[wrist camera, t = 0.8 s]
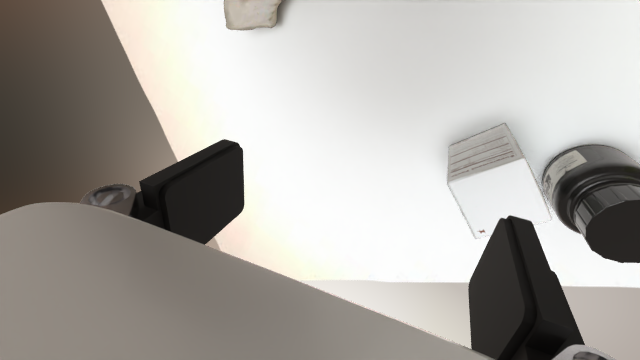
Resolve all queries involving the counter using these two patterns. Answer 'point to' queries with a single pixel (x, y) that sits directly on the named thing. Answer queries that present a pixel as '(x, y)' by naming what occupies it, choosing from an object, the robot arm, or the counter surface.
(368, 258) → the counter surface
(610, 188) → the ink bottle
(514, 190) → the supplement box
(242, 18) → the ceramic sculpture
